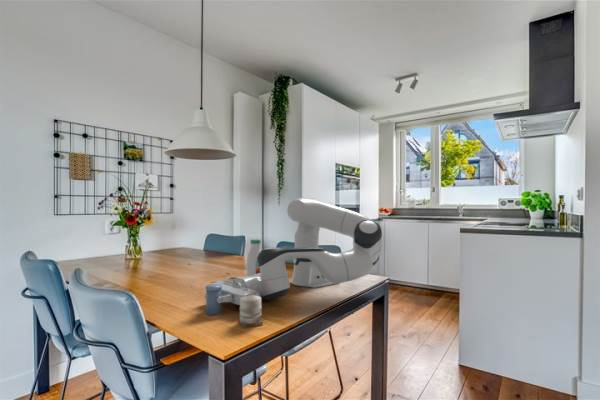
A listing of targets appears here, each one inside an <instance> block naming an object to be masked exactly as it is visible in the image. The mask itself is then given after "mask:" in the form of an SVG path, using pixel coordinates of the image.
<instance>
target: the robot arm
mask: <svg viewBox="0 0 600 400" xmlns="http://www.w3.org/2000/svg"><path fill="white" fill-rule="evenodd" d="M286 210H287V212H286V213H287V215H288V217H289V219H291V220H292V221H294V222H297V223H298V225H297V228H296V231H295V234H294V247H286V248H282V247H274V246H273V247H267V248H263V249H261V252H260V253H259V255H258V257H257V261H258V265H259V267H260V272H261V273H258V274H255V275H253V276H247V275H245V276H239V277H234V276H233V277H232V276H230V277H227V278H226V279H223V280H218V281H215V282H211V284H221V285H222V289H221V296H219V297H216V302H217V303H221V304H222V303H231V304H234V305H238V306H240V298H242V297H244V296H250V295H254V296H259V297H261V298H263V299H265V300H267V301H273V300H276V299H278V298H280V297H285V296H286V295H287V294H288V293H289V291H290V289H291V287H290V283H291V284H292V285H293V286H294V285H295V286H298V287H299V286H300V287H309V288H313V289H314V288H320V287H326V286H331V285H332V286H333V285H336V284H344V283H347V282H351V281H354V280H358V279H361V278H363V277H365V276H368V275H369V274H371V272H372V271H373V267H374V266H375V265H376V264H377V263H378V261H379V259H380V254H381V250H382V236H383V233H382V231H383V230H382V228H381V225H380V224H379V223H378V222H377V221H376V220H373V219H370V218H369V217H367V216H366V215H363V214H362V213H359V212H356V211H354V210H351V209H348V208H344V207H340V206H336V205H334V204H328V203H325V202H321V201H319V200H318V199H316V198H313V197H298V198H295V199H293V200H292V201H290V202H289V204H288V206H287V209H286ZM320 228H321V229H326V230H329V231H332V232H335V233H338V234H340V235H345V236H347V237H350V238H352V246H353V247H352V249H350V250H347V251H342V252H336V253H335V252H330V251H327V249H326V248H324V247H319V245H320V244H319V242H320V240H319V238H320V237H319V236H320ZM288 259H293V260H292V261H293V272H292V277H291V280H289V275H288V270H287V266H286V260H288ZM204 298H205V299H206V293H205V294H204Z"/></svg>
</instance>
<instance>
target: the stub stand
mask: <svg viewBox="0 0 600 400" xmlns="http://www.w3.org/2000/svg"><path fill="white" fill-rule="evenodd" d="M262 309H263V307H262V297H259V296H254V295H250V296H244V297H242V298H240V305H239V317H238V321H239V323H240V325H241V327H242V329H246V328H252V327H258V326H263V324H264V323H263V320H262V313H263V312H262Z"/></svg>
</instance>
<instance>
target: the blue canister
mask: <svg viewBox="0 0 600 400" xmlns="http://www.w3.org/2000/svg"><path fill="white" fill-rule="evenodd" d="M221 289H222V285H221V284H212V283H209V284H207V285H205V291H206V293H205V294H206V298H205V299H206V300H205V301H206V302H205V303H206V304H205V305H206V307H205V311H206V312H205V313H206V314H205V315H206V316H211V315H212V316H218V315H220V314H222V303H217V302H216V297H219V296H221Z"/></svg>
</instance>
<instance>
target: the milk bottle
mask: <svg viewBox="0 0 600 400" xmlns="http://www.w3.org/2000/svg"><path fill="white" fill-rule="evenodd" d="M261 243H262V242H261V239H259V238H254V239H253V238H252V239H250V249H249V251H248V254H247V256H246V257H247V258H246V260H247V261H246V276H253V275H255V274H258V273H261V272H260V267H259V265H258V261H257V257H258V255H259V253H260V252H261V250H262V249H261Z"/></svg>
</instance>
